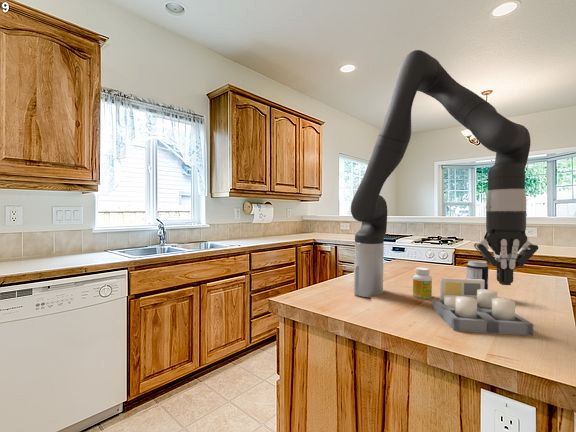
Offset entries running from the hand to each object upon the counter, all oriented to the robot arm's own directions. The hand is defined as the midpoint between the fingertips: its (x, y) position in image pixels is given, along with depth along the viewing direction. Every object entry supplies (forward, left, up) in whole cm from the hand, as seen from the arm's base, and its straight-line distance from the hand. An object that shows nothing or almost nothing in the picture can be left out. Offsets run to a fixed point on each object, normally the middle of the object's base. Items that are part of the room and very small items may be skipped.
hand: (504, 284), depth 71 cm
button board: (-4, +4, -11) cm, 13 cm away
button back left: (-8, +8, -10) cm, 15 cm away
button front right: (0, 0, -8) cm, 8 cm away
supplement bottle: (-12, +23, -11) cm, 28 cm away
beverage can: (+5, +26, -11) cm, 29 cm away
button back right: (0, +8, -8) cm, 11 cm away
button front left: (-8, 0, -8) cm, 11 cm away
